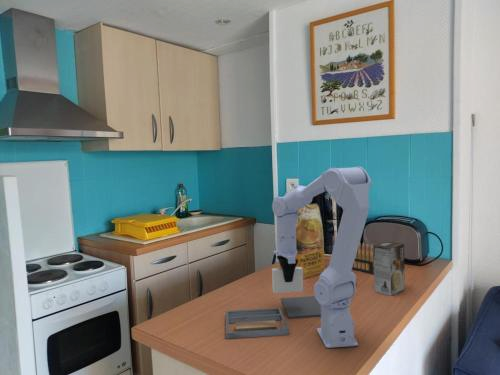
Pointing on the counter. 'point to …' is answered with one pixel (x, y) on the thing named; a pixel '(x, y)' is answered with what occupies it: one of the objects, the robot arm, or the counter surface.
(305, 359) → the counter surface
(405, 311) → the counter surface
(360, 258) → the ammunition clip
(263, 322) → the offcut stack
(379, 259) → the coffee box
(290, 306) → the mat
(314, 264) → the pancake mix bag
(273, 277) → the gray rectangular block
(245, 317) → the rack
